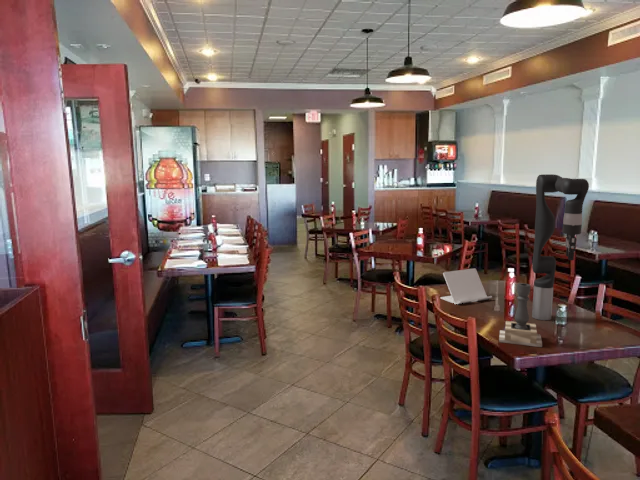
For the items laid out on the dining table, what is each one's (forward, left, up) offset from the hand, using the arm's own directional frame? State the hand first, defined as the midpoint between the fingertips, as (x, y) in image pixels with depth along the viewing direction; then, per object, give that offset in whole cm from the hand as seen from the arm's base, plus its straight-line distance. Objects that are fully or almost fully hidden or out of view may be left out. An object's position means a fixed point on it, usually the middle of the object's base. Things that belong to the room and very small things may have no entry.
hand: (569, 258), depth 218 cm
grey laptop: (-50, -49, -38) cm, 80 cm away
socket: (+10, -19, -38) cm, 44 cm away
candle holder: (+10, -19, -37) cm, 43 cm away
